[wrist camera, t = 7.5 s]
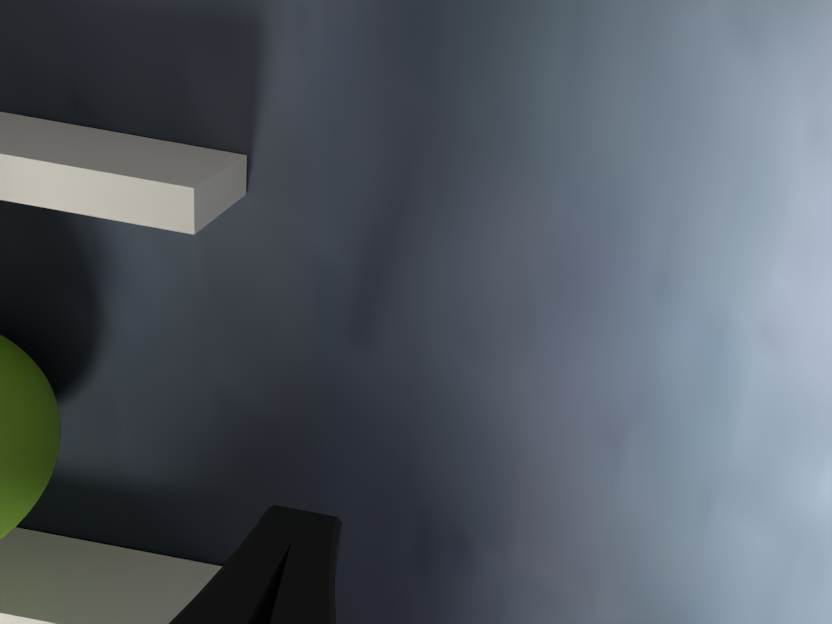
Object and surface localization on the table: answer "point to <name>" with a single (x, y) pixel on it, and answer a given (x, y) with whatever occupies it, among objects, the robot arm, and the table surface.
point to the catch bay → (138, 204)
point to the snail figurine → (24, 434)
